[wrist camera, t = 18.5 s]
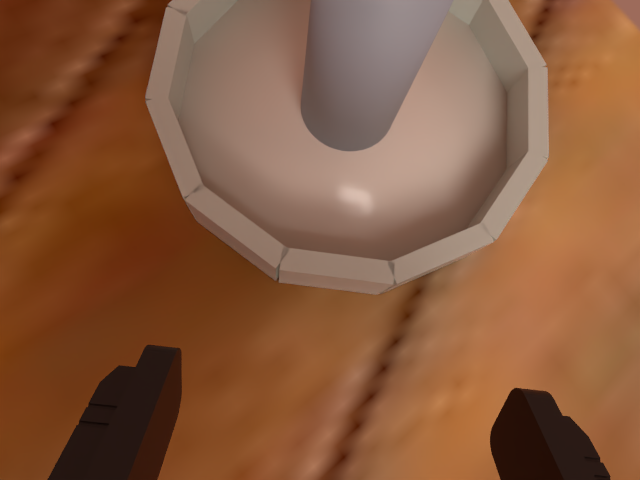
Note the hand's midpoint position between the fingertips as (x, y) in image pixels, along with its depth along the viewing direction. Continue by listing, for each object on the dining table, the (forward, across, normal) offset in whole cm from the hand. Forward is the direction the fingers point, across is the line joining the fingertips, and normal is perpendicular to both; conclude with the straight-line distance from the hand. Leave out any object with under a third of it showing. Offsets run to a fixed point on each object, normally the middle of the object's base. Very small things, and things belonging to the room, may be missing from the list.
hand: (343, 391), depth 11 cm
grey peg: (+14, 0, -3) cm, 14 cm away
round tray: (+15, 0, -2) cm, 15 cm away
